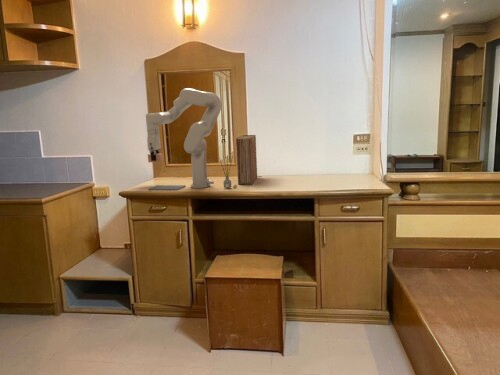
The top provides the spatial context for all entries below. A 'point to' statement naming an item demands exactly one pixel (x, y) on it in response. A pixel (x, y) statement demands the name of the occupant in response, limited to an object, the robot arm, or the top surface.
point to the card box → (158, 158)
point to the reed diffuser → (227, 177)
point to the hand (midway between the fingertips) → (156, 159)
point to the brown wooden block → (246, 159)
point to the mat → (167, 187)
